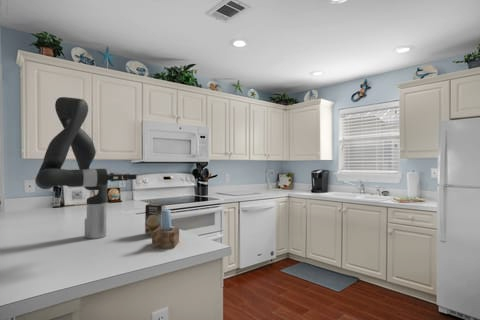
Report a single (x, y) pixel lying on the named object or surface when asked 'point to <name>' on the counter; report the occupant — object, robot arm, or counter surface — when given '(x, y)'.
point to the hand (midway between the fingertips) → (133, 176)
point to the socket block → (165, 238)
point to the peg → (166, 220)
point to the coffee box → (153, 217)
